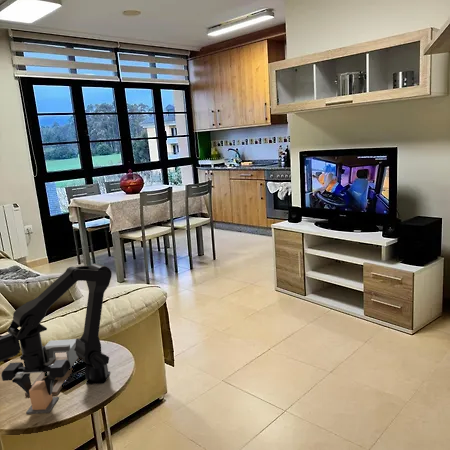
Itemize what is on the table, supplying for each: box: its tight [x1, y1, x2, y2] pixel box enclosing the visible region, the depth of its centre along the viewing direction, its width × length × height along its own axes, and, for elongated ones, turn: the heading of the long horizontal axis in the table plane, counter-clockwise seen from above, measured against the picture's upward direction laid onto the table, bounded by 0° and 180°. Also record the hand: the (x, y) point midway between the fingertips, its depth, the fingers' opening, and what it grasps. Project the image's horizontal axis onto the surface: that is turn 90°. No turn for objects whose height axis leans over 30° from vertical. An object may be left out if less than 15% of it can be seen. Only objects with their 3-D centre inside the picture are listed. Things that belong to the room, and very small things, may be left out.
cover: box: [44, 338, 78, 369], centre depth 151 cm, size 10×8×8 cm
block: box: [29, 381, 54, 410], centre depth 129 cm, size 4×5×6 cm
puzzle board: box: [24, 356, 79, 397], centre depth 146 cm, size 10×22×1 cm, turn 179°
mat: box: [25, 396, 59, 415], centre depth 130 cm, size 7×7×1 cm
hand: (41, 394), depth 129 cm, fingers open, 6 cm apart
